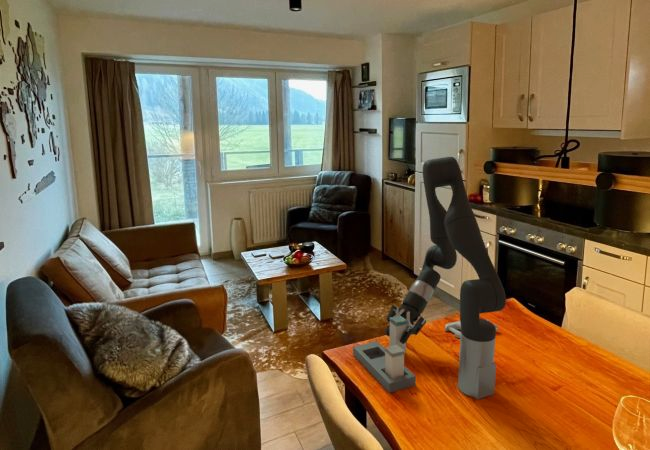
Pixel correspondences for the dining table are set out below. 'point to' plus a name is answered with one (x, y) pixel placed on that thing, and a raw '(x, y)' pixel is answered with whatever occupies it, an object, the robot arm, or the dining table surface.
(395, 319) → the plug
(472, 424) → the dining table surface
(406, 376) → the two-hole peg board
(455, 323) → the gun
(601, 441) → the dining table surface
